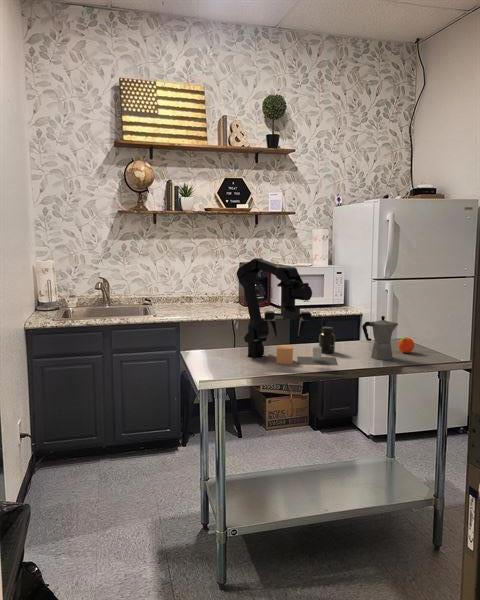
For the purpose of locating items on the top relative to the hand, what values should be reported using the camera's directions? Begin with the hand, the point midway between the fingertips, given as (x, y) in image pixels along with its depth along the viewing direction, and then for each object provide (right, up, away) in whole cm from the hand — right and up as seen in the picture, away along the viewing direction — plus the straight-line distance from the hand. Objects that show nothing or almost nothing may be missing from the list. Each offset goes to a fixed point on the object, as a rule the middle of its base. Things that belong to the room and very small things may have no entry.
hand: (287, 336), depth 208 cm
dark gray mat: (+12, -11, +2) cm, 16 cm away
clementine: (+55, -9, +21) cm, 59 cm away
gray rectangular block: (+12, -10, +2) cm, 16 cm away
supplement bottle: (+19, -9, +18) cm, 28 cm away
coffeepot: (+40, -10, +12) cm, 43 cm away
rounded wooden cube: (-1, -11, 0) cm, 11 cm away
